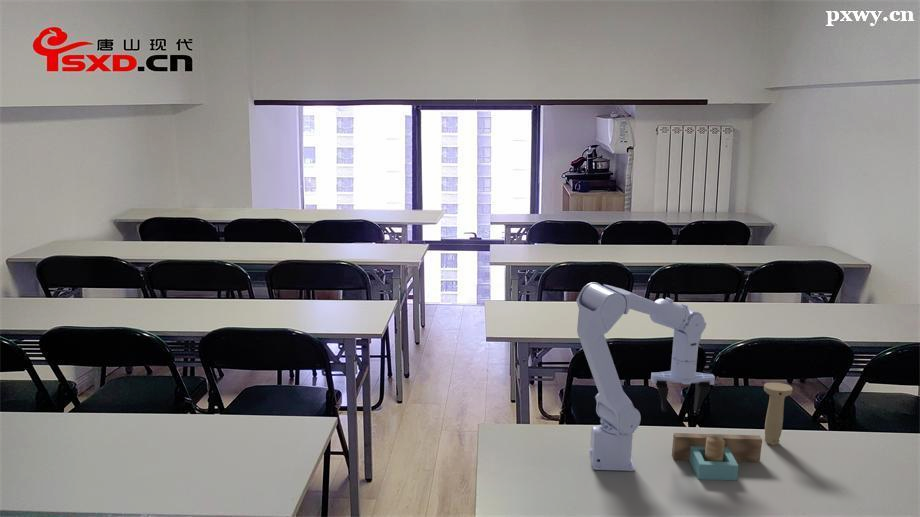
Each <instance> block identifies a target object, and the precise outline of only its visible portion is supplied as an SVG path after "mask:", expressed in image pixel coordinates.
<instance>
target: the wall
mask: <svg viewBox="0 0 920 517" xmlns="http://www.w3.org/2000/svg"><path fill="white" fill-rule="evenodd" d="M710 436H716V437H720V438H722V439H723V440H724V441H725V444H724V447H728V448H729V450H730V452H731V453H732V455H733V457H734V459H735V460H736V462H737V463H738V462H739V463H760V462H761V453H762V446H763V438H762V437H761V435H760V434H759V435H754V434H725V433H723V434H722V433H720V434H719V433H693V432H692V433H687V432H685V433H684V432H683V433H682V432H673V437H672V438H673V439H672V448H671V449H672V450H671V451H672V452H671V457H672V459H673V461H690V460H689V459H690V448H691V446H706V439H707V437H710Z"/></svg>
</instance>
